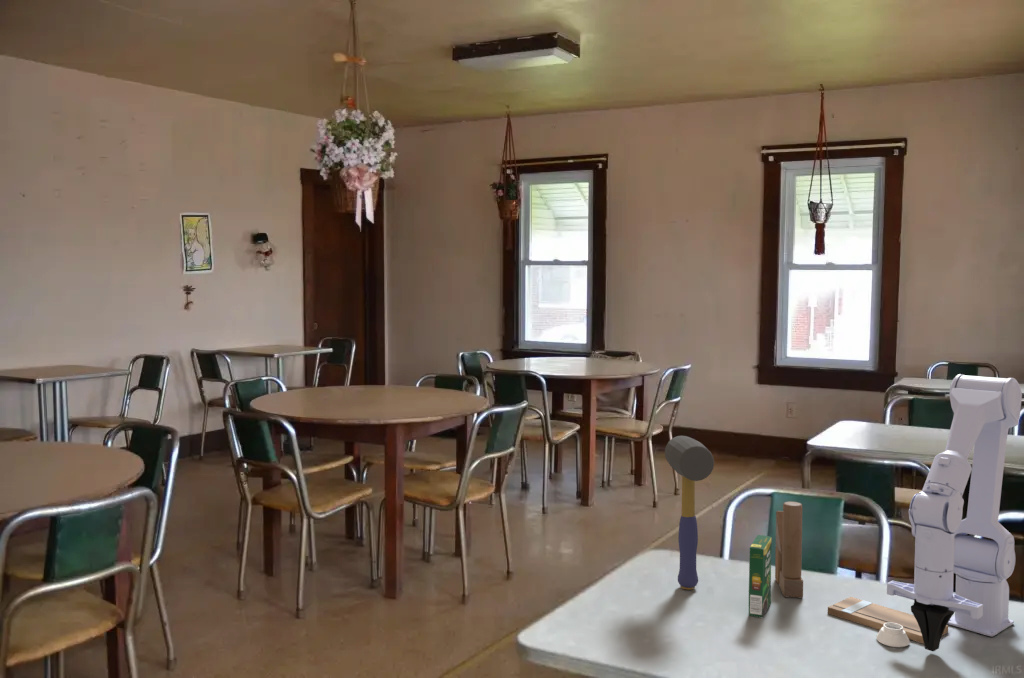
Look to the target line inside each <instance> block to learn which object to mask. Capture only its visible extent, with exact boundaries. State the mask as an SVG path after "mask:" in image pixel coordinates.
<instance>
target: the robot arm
mask: <svg viewBox="0 0 1024 678" xmlns="http://www.w3.org/2000/svg"><path fill="white" fill-rule="evenodd" d="M1022 393H1023V392H1022V389H1021V385H1020V383H1019V382H1018V380H1017V379H1016V378H1014V377H1008V378H1006V377H993V376H981V375H980V376H978V375H965V374H963V373H962V374H961V373H959V374H957V375H955V377H953V379H952V380H951V384H950V386H949V400H950V406H951V409H952V412H953V418H952V421H951V425H950V429H949V433H948V438H947V441H946V444H945V448H944V451H942V452H940V453H938V454H936V455H935V456H934V458H933V461H932V463H931V465H930V469H929V471H928V473H927V476H926V480H925V482H924V484H923V487H922V489H921V491H919V493H918V492H917V493H915V494H914V495H913V496H912V498H911V500H910V503H909V509H908V519H909V522H910V524H911V534H912V536H913V537H914V574H913V577H914V578H913V579H914V580H913V581H914V582H913V583H907V582H902V581H901V582H900V581H895V580H890V581H889V582H886V595H889V596H897V597H902V598H904V599H905V598H906V599H909V600H912V601H914V602H913V604H912V605H911V606H910V612H911V613H912V615H914V617H915V618H916V620H917V623H918V625H919V627H920V630H921V633H922V637H923V641H924V644H923V646H924V649H925V650H928V651H931V652H936V651H937V650H938V649H939V648H940V644H941V640H942V638H943V635H942V634H943V632H944V629H945V627H946V625H948V626H952V627H955V628H956V627H957V628H960V629H963V630H967V631H969V632H970V631H971V632H972V633H973V632H974V633H976V634H977V633H978V634H981V635H984V636H986V637H987V636H988V637H994V636H996V635H998V634H1000V632H1002V631H1004V630H1006V629H1007V628H1009V627H1010V626H1012V625H1014V624H1015V621H1014V620H1013V619H1010V618H1009V609H1010V608H1009V605H1010V601H1009V600H1010V586H1009V583H1008V581H1007V579H1008V578H1009V577H1011V576H1012V574H1013V573H1014V570H1015V566H1016V552H1015V537H1014V535H1012V533H1011V532H1009V530H1007V529H1006V528H1005V527H1004V526H1003V525H1002V524H1001V523H1000V522H999V514H1000V506H1001V496H1002V488H1003V487H1002V486H1003V477H1004V468H1005V459H1006V449H1007V440H1008V434H1009V429H1011V428H1014V427H1017V426H1018V425H1019V420H1020V417H1021V408H1022V399H1023V394H1022ZM972 450H973V456H972V462H971V463H972V465H971V463H970V462H969V460H968V459H969V456H970V454H971V452H972ZM969 478H970V482H969V483H970V484H969V491H968V492H969V493H968V499H967V500H968V502H967V511H966V517H965V518H963V508H964V504H965V501H964V498H963V495H964V493H965V489H966V486H967V485H968V481H969ZM968 534H969V535H968ZM972 535H974V536H972ZM976 536H977V537H976ZM981 537H983V538H981ZM986 538H988V539H986ZM990 539H991V540H990ZM954 574H955V593H954Z"/></svg>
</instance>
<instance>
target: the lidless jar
mask: <svg viewBox="0 0 1024 678" xmlns="http://www.w3.org/2000/svg"><path fill="white" fill-rule="evenodd" d="M876 640H877V642H879V643H880V644H883V645H885V646H887V647H891V648H904V647H907V646H909V645H910V639H908V637H907V634H906V632H905V631H904V630H903V626H902V625H900V624H897V623H891V622H889V623H884V624H883V627H882V628H881V629H880V630H878V633H877V635H876Z"/></svg>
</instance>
